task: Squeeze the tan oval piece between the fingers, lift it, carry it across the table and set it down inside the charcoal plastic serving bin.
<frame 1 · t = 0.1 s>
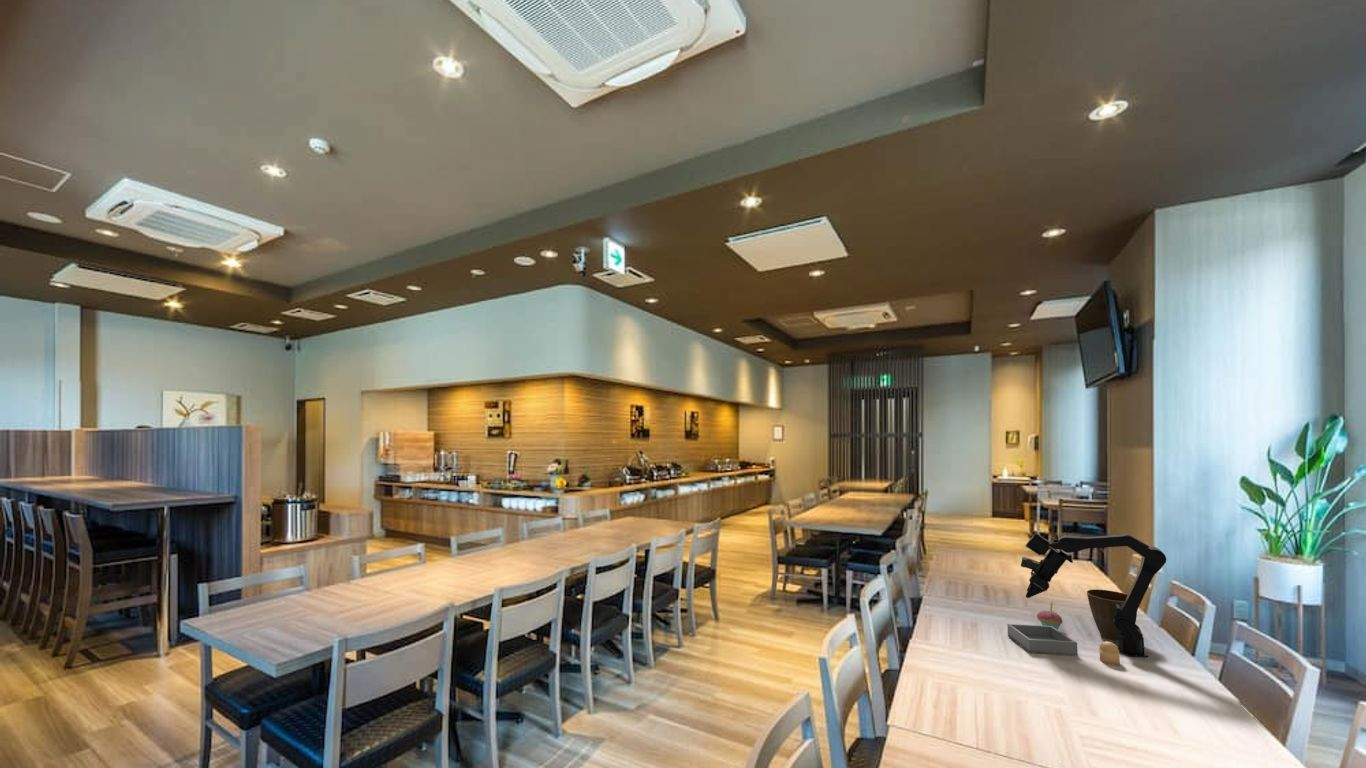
hand: (1027, 594, 212), 15 cm above the table, tool tilted 35°, fingers open, 9 cm apart
serving bin: (1041, 645, 199), on the table
cupcake: (1050, 630, 215), on the table
plant pot: (1112, 638, 207), on the table
tan oval piece: (1109, 662, 186), on the table
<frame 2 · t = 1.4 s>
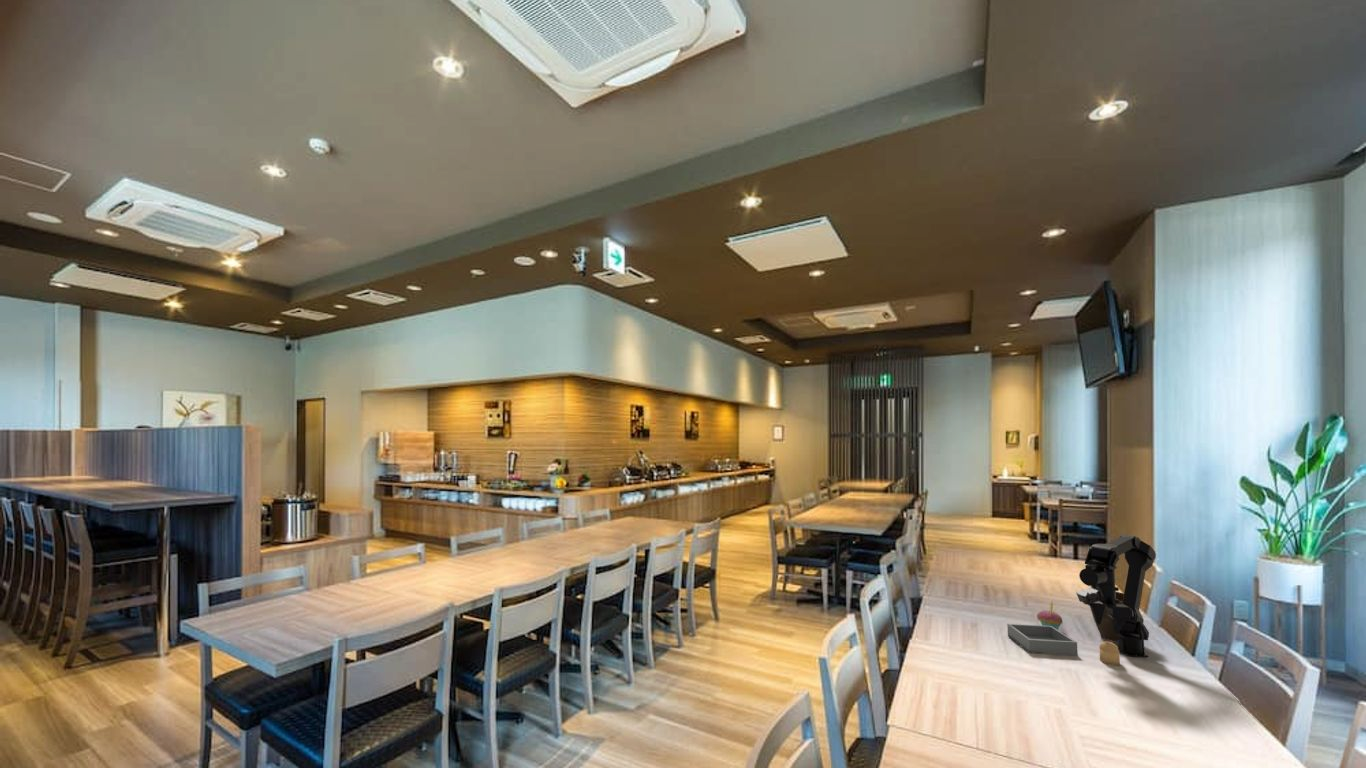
hand: (1107, 628, 187), 11 cm above the table, tool pointing down, fingers open, 9 cm apart
nothing on the table moved.
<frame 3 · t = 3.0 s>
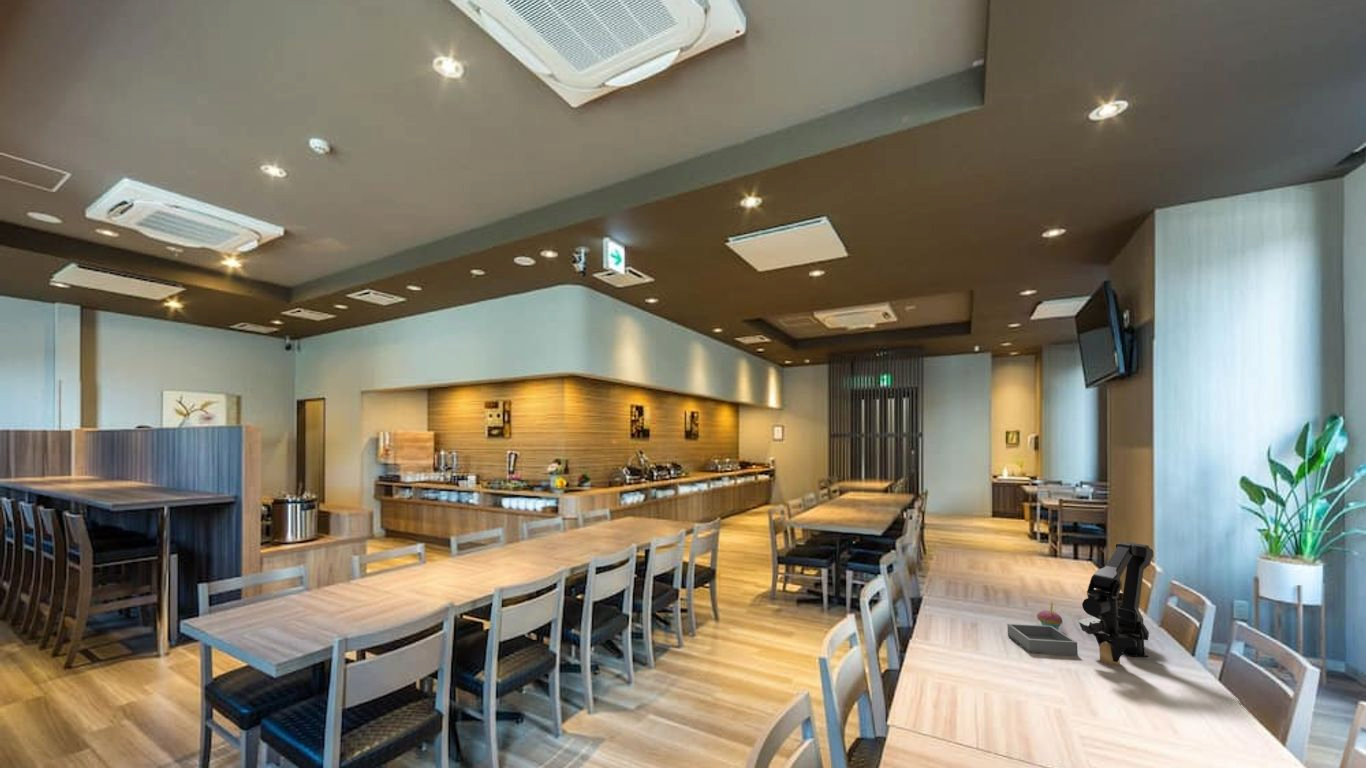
hand: (1109, 658, 186), 1 cm above the table, tool pointing down, fingers closed on tan oval piece, 5 cm apart
tan oval piece: (1109, 661, 186), on the table, touching gripper
everything else where it was.
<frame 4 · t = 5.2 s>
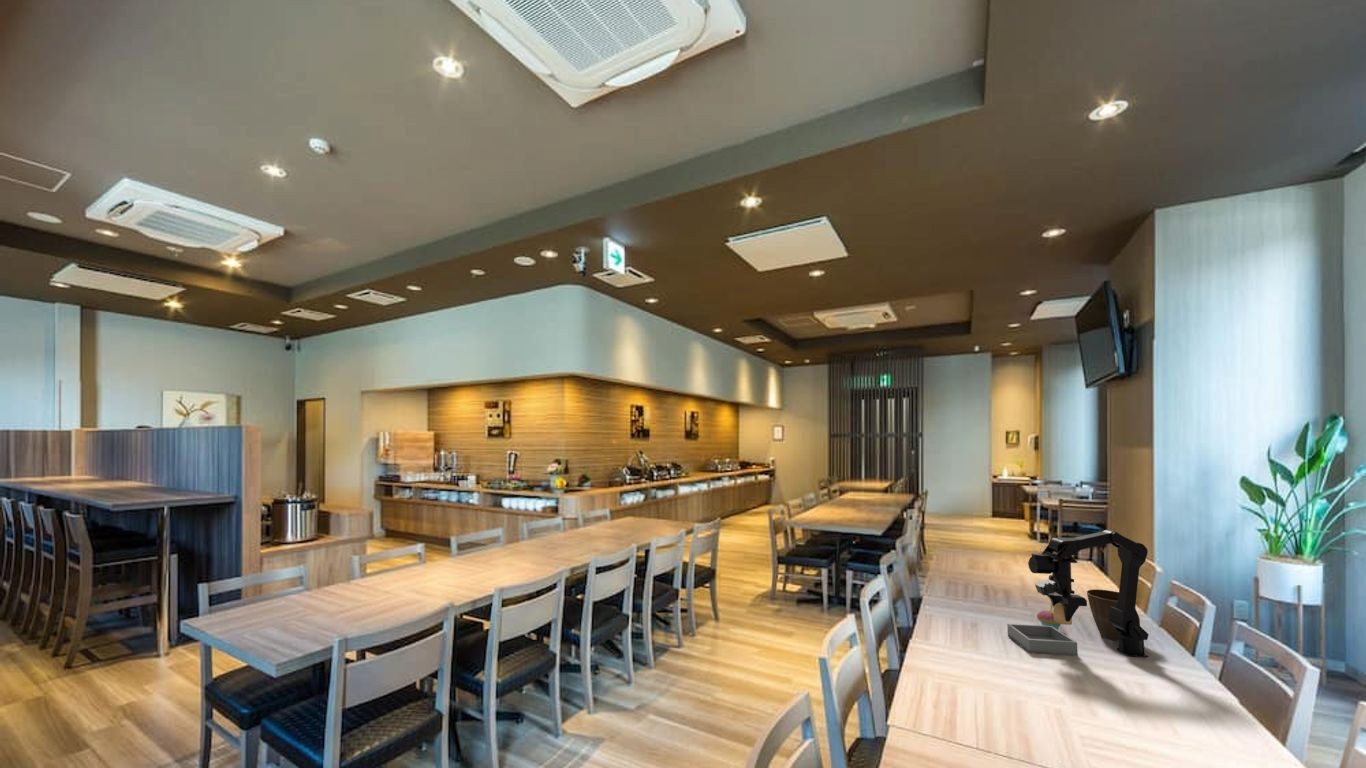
hand: (1062, 618, 195), 11 cm above the table, tool pointing down, fingers closed on tan oval piece, 5 cm apart
tan oval piece: (1062, 622, 195), point 10 cm above the table, touching gripper
everything else where it was.
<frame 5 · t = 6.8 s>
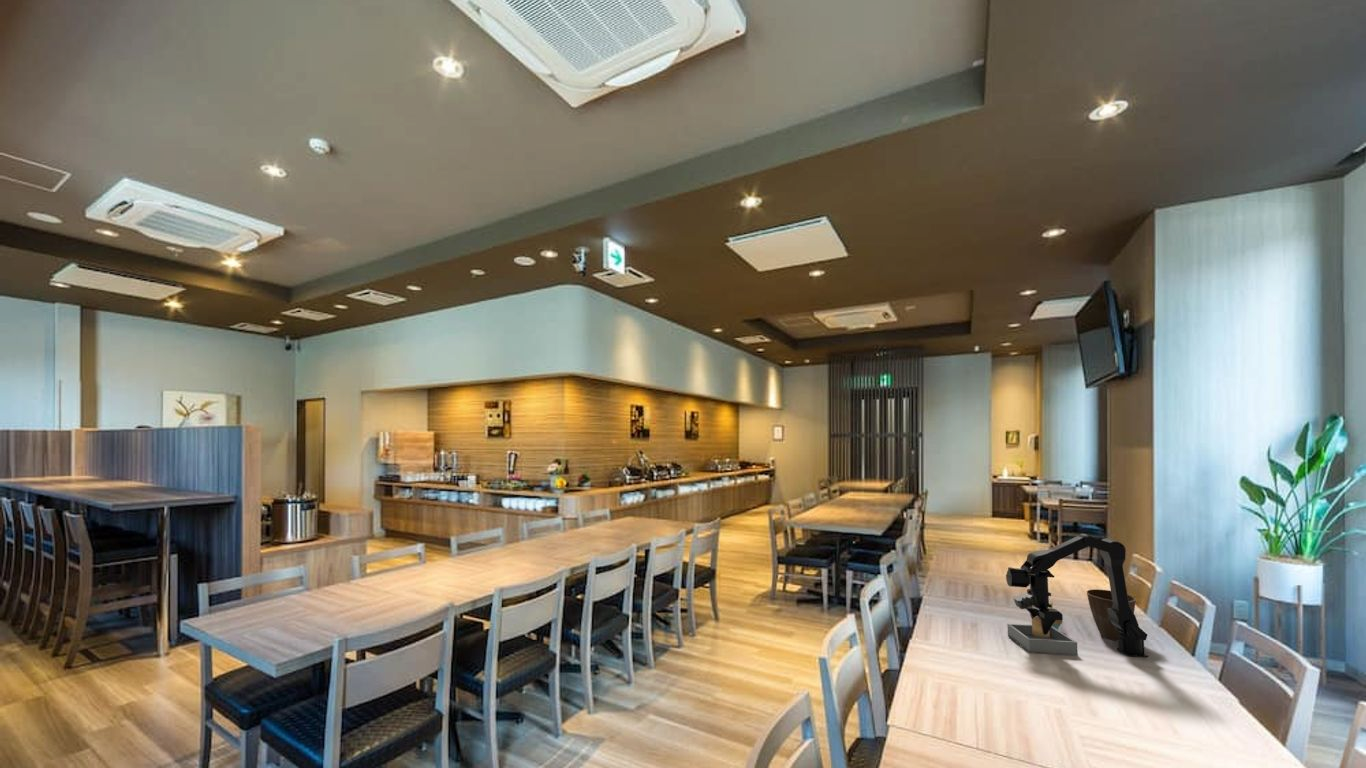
hand: (1040, 631, 200), 5 cm above the table, tool pointing down, fingers closed on tan oval piece, 5 cm apart
tan oval piece: (1040, 634, 200), point 4 cm above the table, touching gripper
everything else where it was.
when the fingers open (4 cm above the table, at t = 7.8 s): tan oval piece drops 2 cm, resting on serving bin.
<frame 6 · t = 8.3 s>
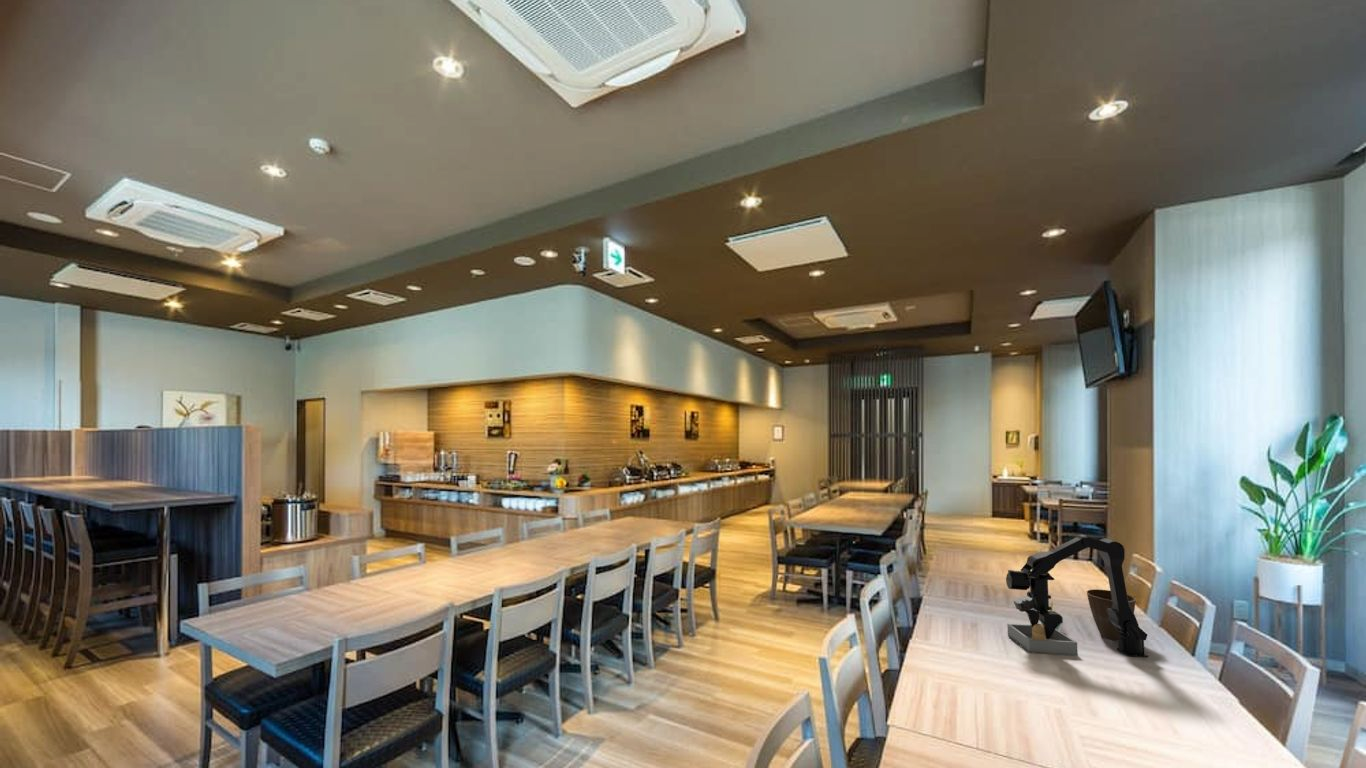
hand: (1040, 634, 200), 4 cm above the table, tool pointing down, fingers open, 9 cm apart
tan oval piece: (1041, 642, 199), point 1 cm above the table, touching serving bin
everything else where it was.
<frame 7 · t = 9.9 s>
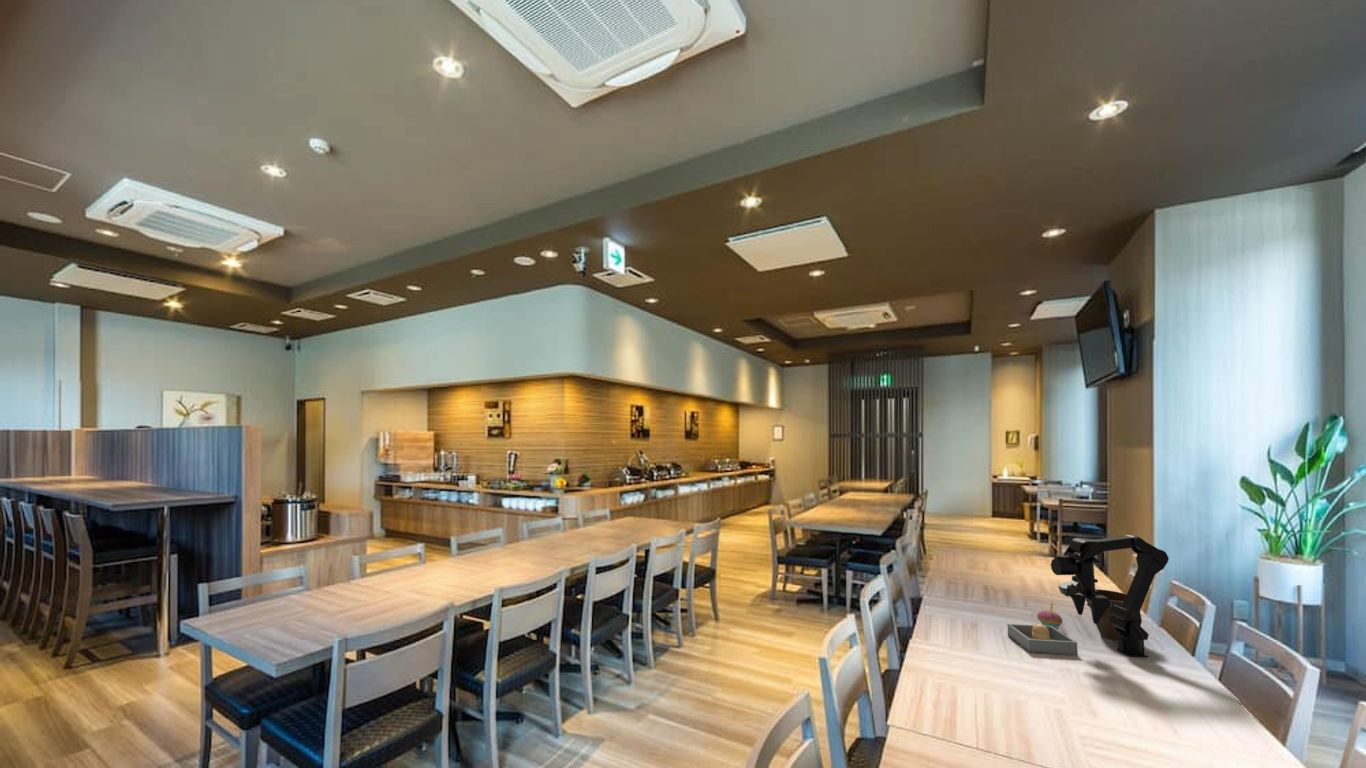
hand: (1087, 619, 194), 12 cm above the table, tool pointing down, fingers open, 9 cm apart
nothing on the table moved.
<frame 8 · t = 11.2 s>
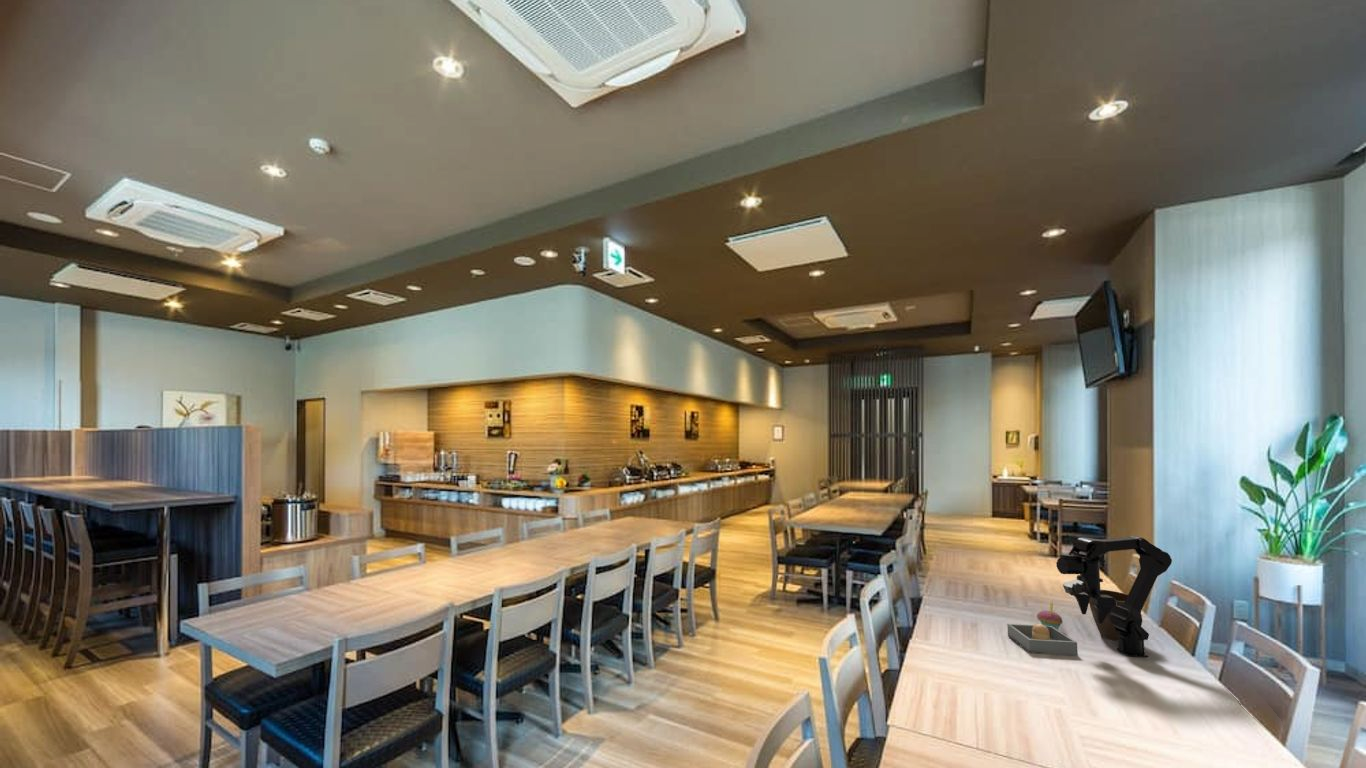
hand: (1091, 618, 194), 12 cm above the table, tool pointing down, fingers open, 9 cm apart
nothing on the table moved.
at the end: tan oval piece inside the target area on the serving bin (0.0 cm from its centre), point 0.8 cm above the serving bin's base; the gripper is holding nothing; cupcake moved 0.2 cm from its start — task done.
